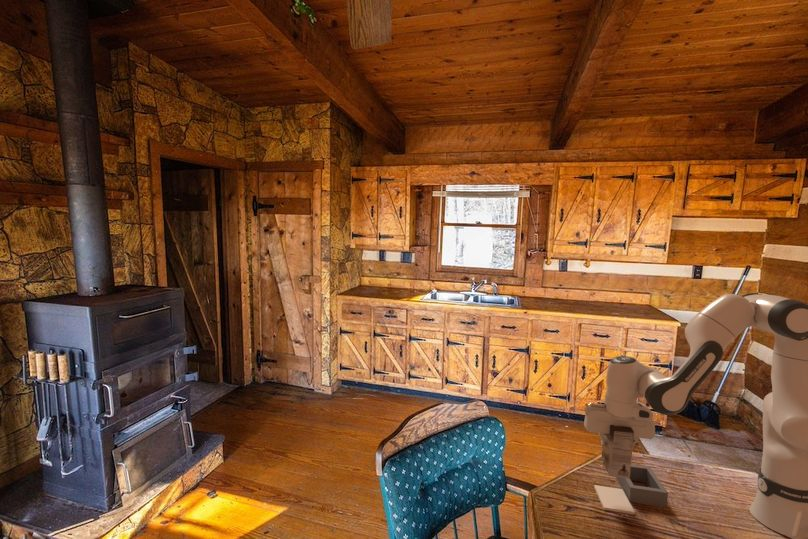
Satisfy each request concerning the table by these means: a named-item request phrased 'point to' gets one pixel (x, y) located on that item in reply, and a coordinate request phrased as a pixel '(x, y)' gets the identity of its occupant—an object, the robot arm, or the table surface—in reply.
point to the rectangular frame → (644, 494)
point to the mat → (613, 499)
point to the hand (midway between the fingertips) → (616, 446)
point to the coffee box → (618, 451)
